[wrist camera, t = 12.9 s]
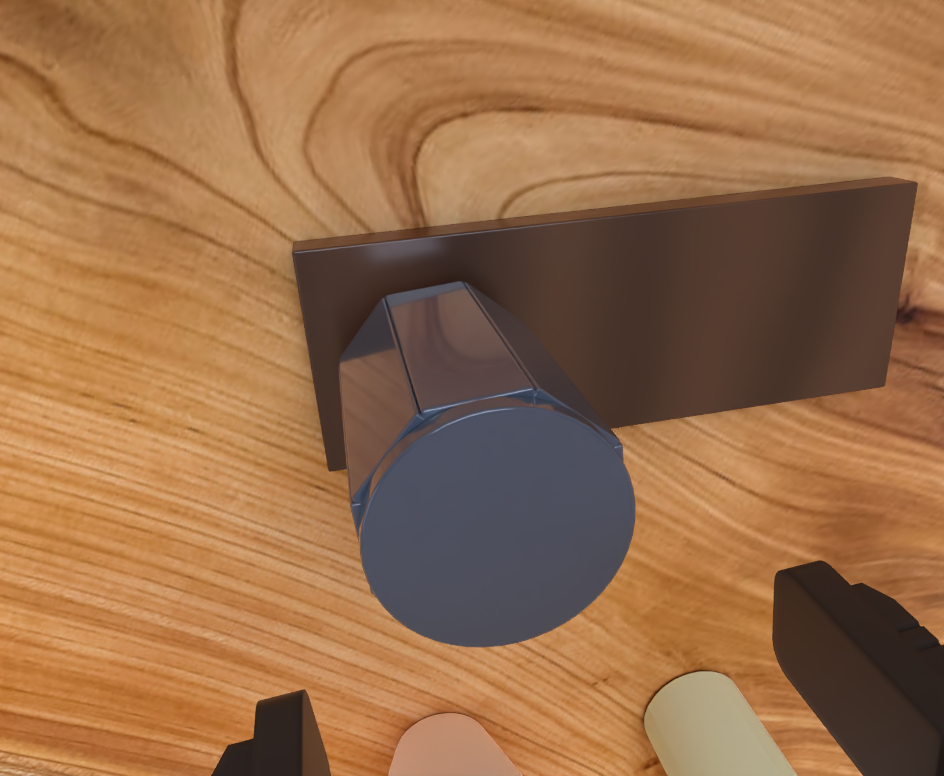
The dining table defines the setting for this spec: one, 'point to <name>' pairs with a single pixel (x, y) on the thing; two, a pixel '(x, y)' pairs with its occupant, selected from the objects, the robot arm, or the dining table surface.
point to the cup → (477, 472)
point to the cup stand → (650, 295)
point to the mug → (449, 749)
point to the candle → (710, 730)
